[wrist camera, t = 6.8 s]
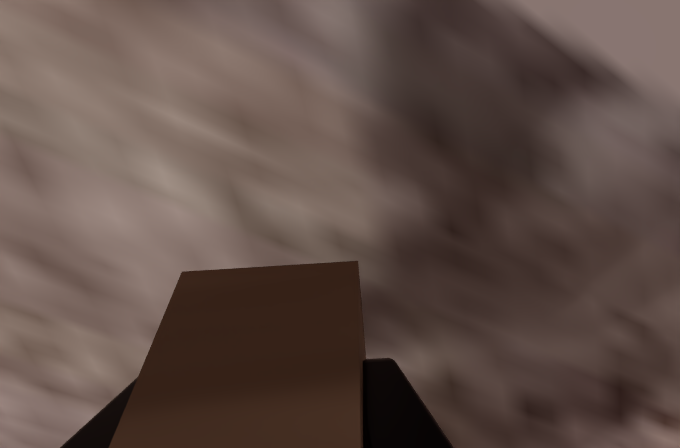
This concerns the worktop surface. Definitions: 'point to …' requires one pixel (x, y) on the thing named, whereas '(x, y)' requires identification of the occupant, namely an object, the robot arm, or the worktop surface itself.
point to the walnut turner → (254, 362)
